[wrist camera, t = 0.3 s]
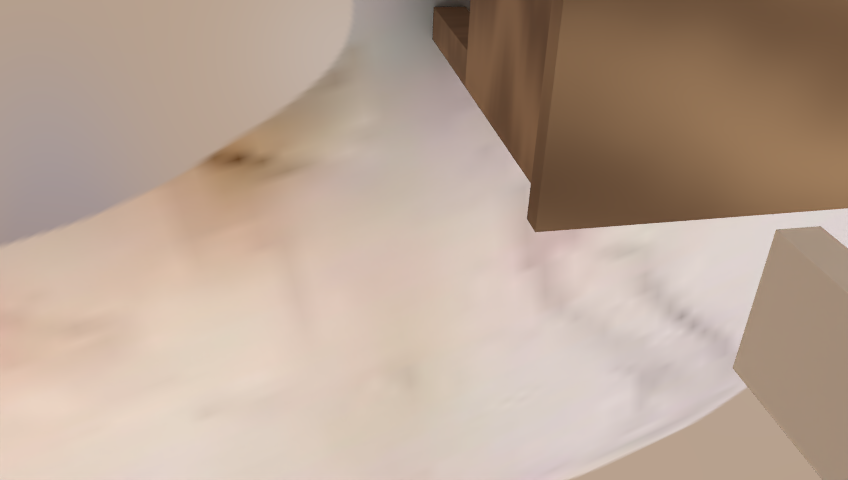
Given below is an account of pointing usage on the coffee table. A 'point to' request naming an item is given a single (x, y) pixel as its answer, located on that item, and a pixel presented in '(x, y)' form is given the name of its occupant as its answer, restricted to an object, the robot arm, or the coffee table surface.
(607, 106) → the cabinet
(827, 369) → the robot arm
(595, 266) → the coffee table surface
